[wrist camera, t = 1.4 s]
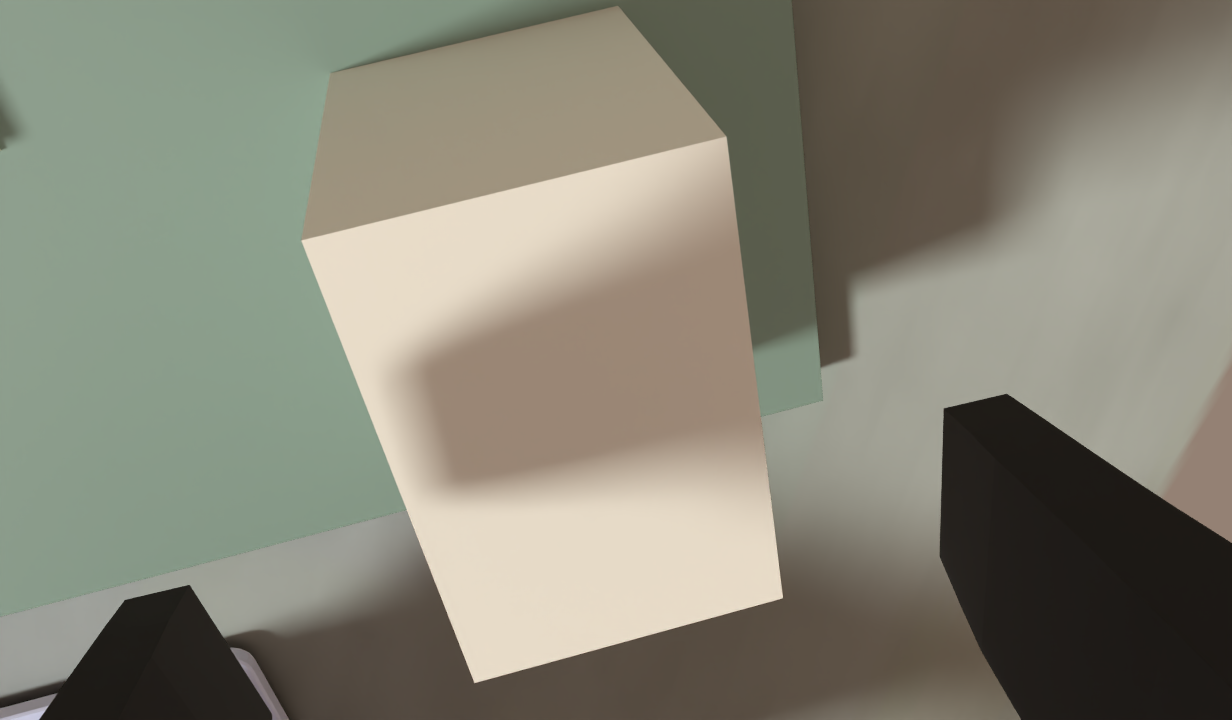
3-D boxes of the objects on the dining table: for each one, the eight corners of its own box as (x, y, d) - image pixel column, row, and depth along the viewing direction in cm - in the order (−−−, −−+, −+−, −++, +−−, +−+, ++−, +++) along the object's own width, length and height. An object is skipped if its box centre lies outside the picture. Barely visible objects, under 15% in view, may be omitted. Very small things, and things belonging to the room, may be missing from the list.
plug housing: (681, 374, 19) (783, 598, 14) (452, 433, 19) (474, 683, 14) (617, 5, 16) (726, 136, 11) (329, 72, 15) (300, 240, 10)
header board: (806, 374, 21) (913, 539, 17) (-161, 626, 20) (-313, 875, 16) (691, -926, 11) (877, -1329, 7) (-1235, -586, 10) (-2454, -823, 6)
